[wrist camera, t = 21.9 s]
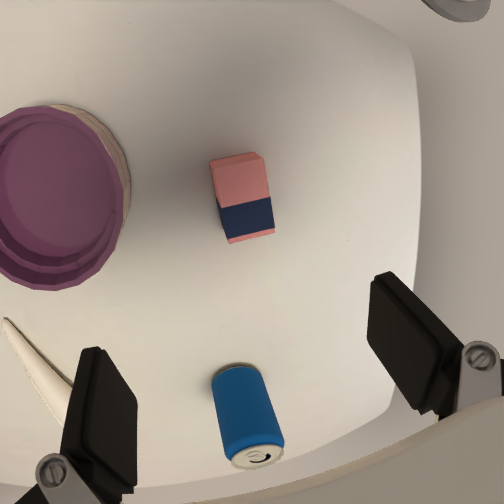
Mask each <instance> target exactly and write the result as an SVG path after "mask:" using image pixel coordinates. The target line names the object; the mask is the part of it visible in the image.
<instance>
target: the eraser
mask: <svg viewBox="0 0 504 504" xmlns="http://www.w3.org/2000/svg"><path fill="white" fill-rule="evenodd" d="M209 164H210V169H211V174H212V178H213V183H214V188H215V192H216V200H217V204H218V209H219V213H220V218H221V223H222V226H223V229H224V232H225V234H226V237H227V240H228V242H229V244H230V243H234V242H238V241H242V240H246V239H250V238H254V237H258V236H262V235H266V234H270V233H274V232H275V230H274V228H275V225H274V218H273V211H272V205H271V198H270V196H269V190H268V184H267V178H266V171H265V165H264V159H263V158H262V157H261V156H259V155H258V154H256V153H255V152H251V153H247V154H242V155H237V156H232V157H228V158H223V159H219V160H214V161H210V162H209Z"/></svg>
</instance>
